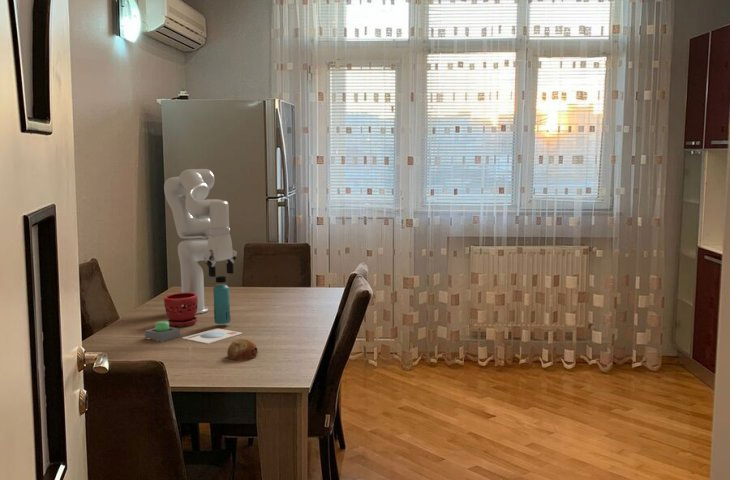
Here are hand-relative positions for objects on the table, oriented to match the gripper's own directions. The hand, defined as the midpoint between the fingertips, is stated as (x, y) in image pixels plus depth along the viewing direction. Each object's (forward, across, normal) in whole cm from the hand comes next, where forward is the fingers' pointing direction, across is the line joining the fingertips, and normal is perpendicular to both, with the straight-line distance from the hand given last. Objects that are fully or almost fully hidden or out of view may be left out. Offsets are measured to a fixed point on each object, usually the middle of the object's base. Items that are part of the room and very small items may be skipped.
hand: (221, 274), depth 296 cm
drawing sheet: (+21, +14, +8) cm, 26 cm away
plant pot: (+21, +7, -17) cm, 27 cm away
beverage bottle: (+21, 0, -1) cm, 21 cm away
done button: (+19, +26, -6) cm, 32 cm away
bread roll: (+22, +28, +37) cm, 51 cm away
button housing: (+21, +26, -6) cm, 34 cm away
